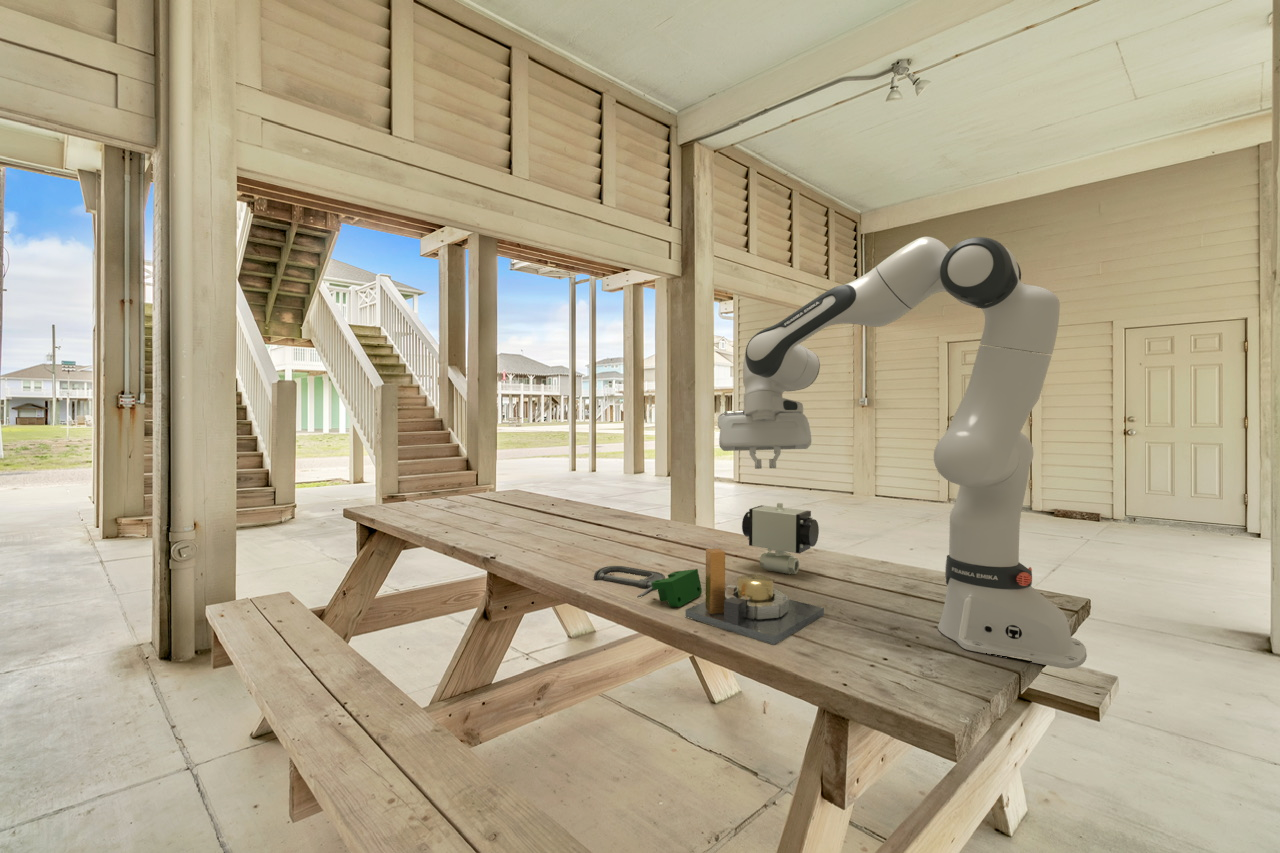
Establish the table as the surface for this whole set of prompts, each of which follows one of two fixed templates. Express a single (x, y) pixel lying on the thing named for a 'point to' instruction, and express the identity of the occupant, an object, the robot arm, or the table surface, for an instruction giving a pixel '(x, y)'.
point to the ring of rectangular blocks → (736, 591)
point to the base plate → (756, 628)
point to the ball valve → (780, 535)
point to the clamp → (679, 587)
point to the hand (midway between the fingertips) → (765, 467)
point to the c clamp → (640, 583)
